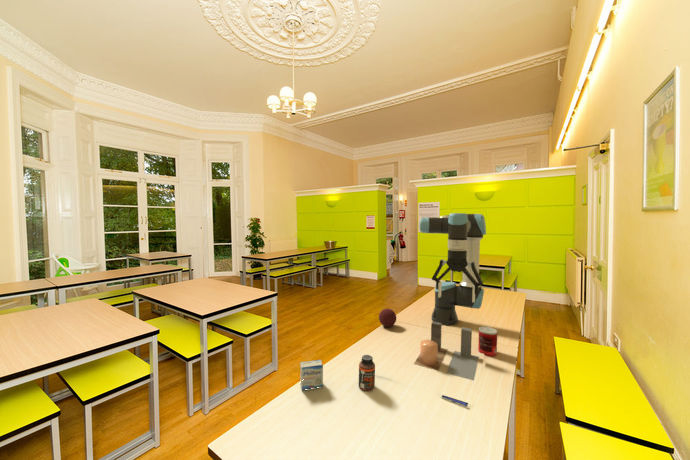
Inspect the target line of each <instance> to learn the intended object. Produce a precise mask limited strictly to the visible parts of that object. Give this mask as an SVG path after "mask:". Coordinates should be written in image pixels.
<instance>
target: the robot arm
mask: <svg viewBox="0 0 690 460" xmlns="http://www.w3.org/2000/svg"><path fill="white" fill-rule="evenodd" d="M419 231H420V232H421V233H423V234H443V235H444V234H445V235H448V236H447V248H448V250H447V259H446V260H444V259H440V260H439V265H438V266H437V269H436V270H435V272H434V273H433V276H432V277H431V280H432V281H434V282H435V287H434V308H433V311H432V314H431V321H432V322H438V323H442V326H454V325H457V324H458V323H459V317H458V314H457V311H456V306H457V307H463V308H469V309H477V310H479V309H480V308H481V307H482V305H483V304H482V303H483V299H484V295H485V289H484V288H482V286H483V285H484V281H483V280H482V277H481V275H480V255H481V254H480V249H481V248H480V247H481V240H482V239H484V236H485V235H487V227H486V219H485V216H484V215H483V214H481V213H465V212H464V213H461V212H454V213H453V212H451V213H449V214H446V215H441V216H440V217H436V216H434V217H431V216H430V217H429V216H426V217H423V216H422V217H421V218H420V221H419ZM445 265H447V266H448V267H447V268H446V270H444V271H443V272H442V273H441V274H440V272H441V270H442V269H443V267H444V266H445ZM450 271H451V272H458V273H461V272H462V280H461V281H460V282H459V285H457V284H456V282H454V281H441V280H442V279H443V278H444V277H445V276H446V275H447V274H448V273H449V272H450ZM439 274H440V275H439ZM438 275H439V276H438Z"/></svg>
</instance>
